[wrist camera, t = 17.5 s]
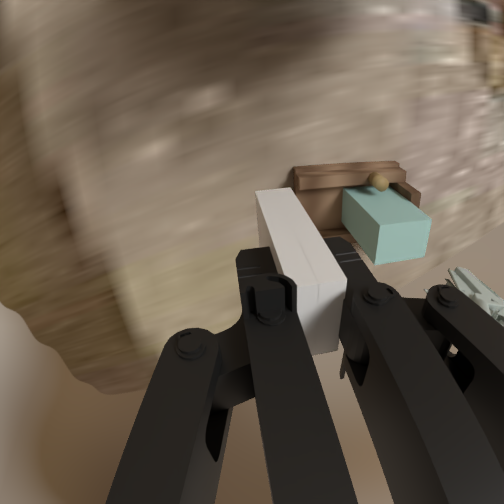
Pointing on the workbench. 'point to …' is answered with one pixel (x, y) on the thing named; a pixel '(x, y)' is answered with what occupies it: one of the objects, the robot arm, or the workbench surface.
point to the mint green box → (385, 224)
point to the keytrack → (331, 190)
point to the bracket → (477, 292)
